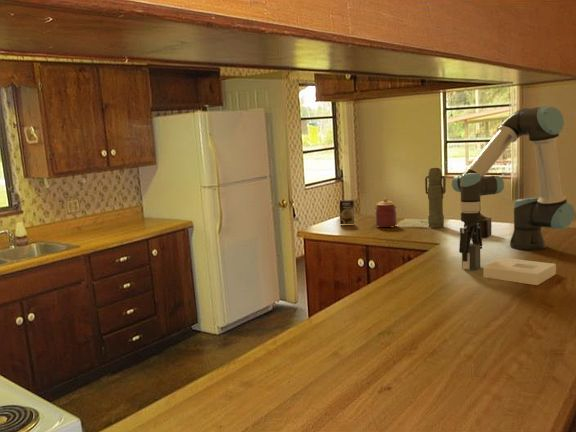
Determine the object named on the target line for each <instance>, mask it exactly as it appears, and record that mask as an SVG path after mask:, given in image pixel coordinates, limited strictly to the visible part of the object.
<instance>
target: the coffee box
mask: <svg viewBox="0 0 576 432" xmlns="http://www.w3.org/2000/svg"><path fill="white" fill-rule="evenodd" d="M354 223H355V200H354V199H344V200H342V199H340V200H339V225H340V224H354Z"/></svg>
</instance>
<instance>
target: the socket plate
mask: <svg viewBox="0 0 576 432" xmlns="http://www.w3.org/2000/svg"><path fill="white" fill-rule="evenodd" d="M482 274H483V278H487V279H493V280H500V281H507V282H508V281H509V282H514V283H520V284H527V285H534V286H538V285H540V284H541V283H543V282H545V281H547V280H549V279H550V278H553V276H555V275H556V274H557V264H556V263H549V262H543V261H542V262H541V261H534V260H525V259H517V258H516V259H515V258H508V257H502V258H499V259H498V260H496V261H494V262H492V263H490V264H487V265H485V266H483V273H482Z"/></svg>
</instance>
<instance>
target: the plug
mask: <svg viewBox="0 0 576 432" xmlns="http://www.w3.org/2000/svg"><path fill="white" fill-rule="evenodd" d="M468 253H470V269H468V270H472V271H478V270H480V269H481V249H480V244H473V243H472V242H470V246H469V252H468ZM461 269H463V261H462V260H461ZM463 270H464V269H463Z"/></svg>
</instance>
